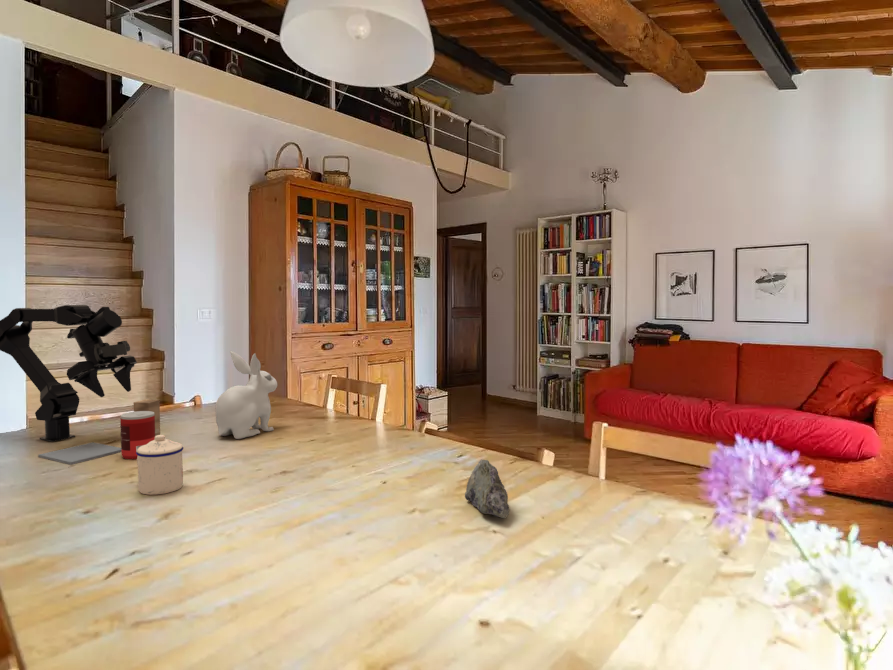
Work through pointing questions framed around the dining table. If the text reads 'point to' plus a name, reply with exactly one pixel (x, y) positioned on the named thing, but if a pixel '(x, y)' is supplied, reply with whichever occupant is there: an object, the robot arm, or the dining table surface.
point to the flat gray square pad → (80, 453)
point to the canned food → (136, 432)
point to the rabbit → (246, 401)
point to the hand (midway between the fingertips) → (116, 393)
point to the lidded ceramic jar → (160, 466)
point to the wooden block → (150, 406)
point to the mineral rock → (487, 490)
